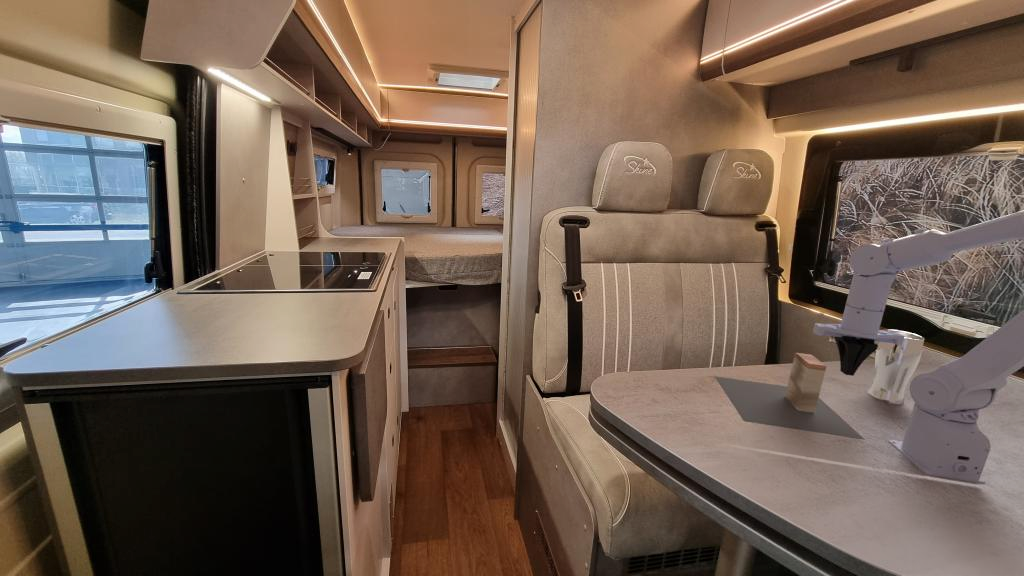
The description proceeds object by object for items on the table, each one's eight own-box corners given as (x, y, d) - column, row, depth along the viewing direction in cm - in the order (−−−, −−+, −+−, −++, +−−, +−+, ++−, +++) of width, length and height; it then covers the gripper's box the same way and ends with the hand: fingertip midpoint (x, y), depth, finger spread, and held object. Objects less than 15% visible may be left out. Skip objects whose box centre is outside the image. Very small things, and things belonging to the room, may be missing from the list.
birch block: (814, 412, 83) (826, 366, 81) (797, 410, 83) (809, 363, 81) (800, 398, 89) (811, 354, 86) (785, 396, 89) (795, 352, 87)
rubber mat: (864, 441, 75) (864, 439, 74) (743, 422, 78) (744, 420, 78) (809, 391, 94) (810, 389, 94) (714, 378, 97) (715, 376, 97)
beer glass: (889, 392, 96) (907, 330, 93) (914, 407, 89) (935, 341, 86) (857, 389, 97) (874, 327, 93) (879, 404, 90) (899, 338, 86)
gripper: (893, 306, 83) (875, 370, 86) (812, 298, 85) (797, 360, 88) (920, 316, 76) (899, 385, 79) (830, 307, 78) (814, 374, 81)
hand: (846, 373), depth 83 cm, fingers closed
